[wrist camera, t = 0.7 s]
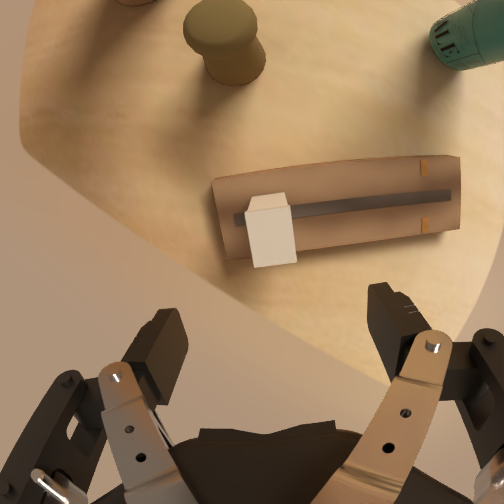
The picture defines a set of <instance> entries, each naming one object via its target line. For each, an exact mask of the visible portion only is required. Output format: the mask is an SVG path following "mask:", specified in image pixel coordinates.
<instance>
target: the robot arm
mask: <svg viewBox="0 0 504 504" xmlns="http://www.w3.org/2000/svg"><path fill="white" fill-rule="evenodd" d="M117 1H119V2H120V3H122V4H125V5H134V6H135V5H142V4H145V3H149V2H151V1H154V0H117ZM367 323H368V328H369V332H370V334H371V336H372V338H373V341H374V343H375V345H376V348H377V350H378V352H379V355H380V357H381V360H382V362H383V364H384V367H385V369H386V372H387V374H388V377H389V379H390V382H391V385H390V387H389V389H388V391H387V393H386V395H385V397H384V399H383V401H382V402H381V404H380V406H379V408H378V410H377V412H376V413H375V415H374V417H373V419H372V420H371V422H370V424H369V426H368V427H367V429H366V431H365V432H364V434H363V435H362V434H359V433H357V432H353V431H348V430H342V429H336V426H335V420H332V421H326V422H319V423H312V424H303V425H299V426H295V427H292V428H288V429H285V430H281V431H278V432H274V433H271V434H257V433H251V432H245V431H240V430H235V429H203V428H201V429H200V432H199V436H198V438H194V439H189V440H186V441H184V442H181V443H179V444H177V445H174V444H173V442H172V440H171V438H170V437H169V435H168V433H167V431H166V429H165V427H164V425H163V424H162V422H161V420H160V418H159V416H158V414H157V412H156V411H155V408H156V405H168V403H169V400H170V398H171V395H172V392H173V389H174V386H175V384H176V381H177V378H178V375H179V373H180V370H181V367H182V365H183V362H184V359H185V355H186V354H187V351H188V338H187V335H186V332H185V329H184V326H183V323H182V320H181V317H180V314H179V312H178V310H177V309H176V308H170V309H169V308H168V309H159V310H158V311H157V313H156V314H155V316H154V318H153V319H152V321H149V322H147V323H146V324H145V325H144V326H143V327H142V328H141V329H140V331H139V332H138V334H137V337H135V339H134V340H133V343H131V345H130V347H129V348H128V350H127V352H126V353H125V355H124V357H123V358H122V360H121V361H120V362H114V363H112V364H109V365H108V366H106V367H104V368H103V369H102V370H101V372H100V373H99V376H98V377H97V378H91V379H85V380H84V378H83V377H82V375H81V374H80V372H79V371H76V370H69V371H66V372H64V373H62V374H60V375H59V376H58V377H57V378H56V379H55V381H54V382H53V384H52V385H51V387H50V388H49V390H48V391H47V393H46V394H45V396H44V398H43V399H42V401H41V402H40V404H39V406H38V407H37V409H36V410H35V412H34V413H33V415H32V417H31V418H30V420H29V422H28V423H27V425H26V427H25V429H24V430H23V432H22V434H21V435H20V437H19V439H18V441H17V443H16V444H15V446H14V448H13V450H12V452H11V453H10V455H9V457H8V459H7V461H6V463H5V465H4V467H3V469H2V471H1V473H0V504H88V498H87V491H88V489H89V486H90V483H91V480H92V477H93V475H94V472H95V469H96V466H97V464H98V461H99V458H100V456H101V453H102V451H103V448H104V445H105V443H106V440H107V438H108V441H109V444H110V448H111V451H112V454H113V457H114V460H115V463H116V465H117V469H118V471H119V474H120V477H121V479H122V482H123V483H122V484H120V485H119V486H117V487H116V488H114V489H113V490H111V491H110V492H108V493H107V494H105V495H103V496H102V497H100V498H99V499H97V500H96V501H94V502H92V503H91V504H504V336H503V334H501V333H500V332H499V331H496V330H494V329H489V328H485V329H480V330H478V331H477V332H476V333H475V334H474V336H473V339H472V342H452V340H451V338H450V337H449V336H448V335H447V334H445V333H444V332H441V331H438V330H432V328H431V327H430V326H429V324H428V323H427V321H426V320H425V319H424V317H423V316H422V314H421V313H420V312H418V309H417V308H416V306H414V303H413V302H412V301H411V299H410V298H409V297H408V296H406V295H404V294H403V293H401V292H395V293H394V291H393V290H392V289H391V287H390V286H389V284H388V283H387V282H383V283H377V284H371V285H369V286H368V305H367ZM447 400H455V403H456V405H457V407H458V409H459V412H460V414H461V416H462V419H463V422H464V424H465V427H466V429H467V431H468V434H469V437H470V439H471V442H472V445H473V448H474V450H475V453H476V456H477V459H478V462H479V465H480V468H481V471H480V472H479V474H478V475H477V477H476V479H475V484H474V489H475V497H474V500H473V502H472V501H471V500H470V499H468V498H467V497H465V496H464V495H462V494H460V493H458V492H456V491H454V490H453V489H451V488H449V487H448V486H446V485H444V484H442V483H441V482H439V481H437V480H435V479H434V478H432V477H430V476H429V475H427V474H425V473H424V472H422V471H420V470H419V469H417V468H415V467H414V466H413V464H414V462H415V459H416V458H417V455H418V453H419V451H420V449H421V446H422V444H423V442H424V439H425V437H426V434H427V432H428V429H429V426H430V424H431V421H432V418H433V416H434V413H435V410H436V407H437V404H438V401H447ZM73 415H74V417H75V418H76V419H77V420H78V422H79V423H78V425H77V427H76V429H75V431H74V433H73V435H72V437H71V439H70V440H69V439H68V437H67V433H66V430H67V427H68V425H69V423H70V420H71V419H72V417H73Z"/></svg>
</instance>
